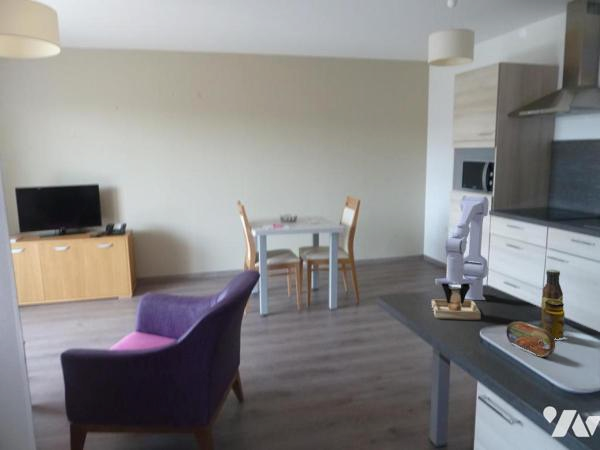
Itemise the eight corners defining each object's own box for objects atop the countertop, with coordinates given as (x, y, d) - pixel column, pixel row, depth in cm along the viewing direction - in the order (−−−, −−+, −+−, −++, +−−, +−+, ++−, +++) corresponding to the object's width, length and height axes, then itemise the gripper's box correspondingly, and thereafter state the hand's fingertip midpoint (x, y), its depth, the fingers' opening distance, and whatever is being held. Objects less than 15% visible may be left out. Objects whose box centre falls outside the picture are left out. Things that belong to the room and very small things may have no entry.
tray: (431, 306, 174) (431, 299, 173) (472, 307, 171) (472, 300, 170) (435, 318, 160) (435, 311, 160) (480, 320, 157) (480, 312, 157)
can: (447, 306, 168) (448, 286, 167) (460, 306, 167) (460, 287, 166) (449, 310, 164) (449, 290, 162) (462, 311, 162) (462, 291, 161)
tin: (505, 343, 137) (506, 318, 136) (512, 341, 139) (513, 316, 137) (549, 362, 124) (550, 334, 123) (556, 359, 125) (557, 332, 124)
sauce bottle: (564, 329, 146) (567, 273, 143) (544, 328, 147) (547, 273, 145) (557, 322, 153) (560, 268, 150) (538, 321, 154) (540, 268, 151)
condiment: (569, 339, 138) (571, 304, 136) (545, 342, 137) (547, 306, 135) (553, 331, 145) (555, 297, 143) (530, 333, 144) (532, 299, 142)
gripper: (437, 271, 160) (436, 305, 162) (477, 271, 158) (476, 306, 160) (434, 266, 167) (434, 299, 169) (473, 266, 165) (472, 300, 167)
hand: (454, 302), depth 165 cm, fingers closed on can, 5 cm apart
